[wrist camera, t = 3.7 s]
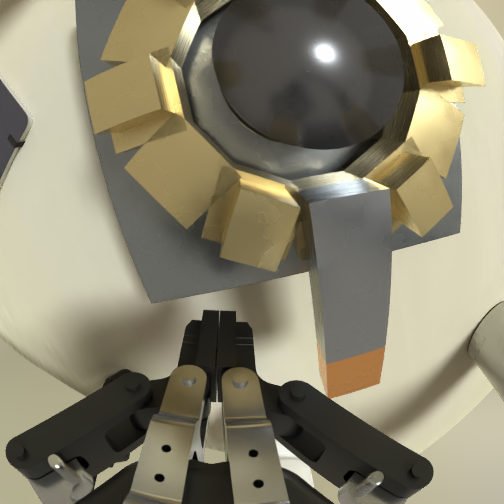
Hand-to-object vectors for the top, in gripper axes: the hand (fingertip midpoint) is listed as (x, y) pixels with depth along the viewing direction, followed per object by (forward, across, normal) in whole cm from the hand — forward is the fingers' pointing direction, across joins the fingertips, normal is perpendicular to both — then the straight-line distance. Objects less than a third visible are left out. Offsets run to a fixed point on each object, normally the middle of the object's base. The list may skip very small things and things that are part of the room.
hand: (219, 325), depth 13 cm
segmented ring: (+2, -4, -8) cm, 9 cm away
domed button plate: (+7, -3, -12) cm, 14 cm away
